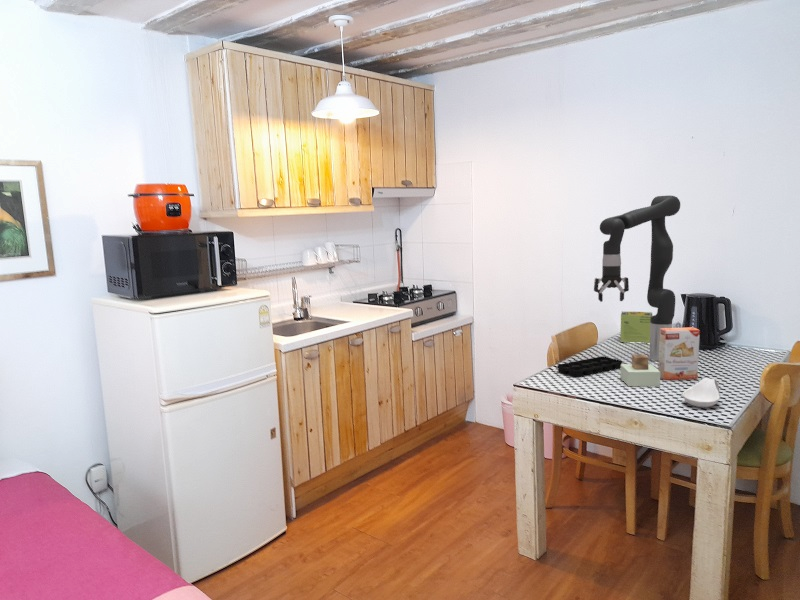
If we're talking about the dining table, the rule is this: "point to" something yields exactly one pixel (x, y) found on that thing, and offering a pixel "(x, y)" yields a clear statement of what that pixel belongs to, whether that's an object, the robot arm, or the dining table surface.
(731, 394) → the dining table surface
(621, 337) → the protein box
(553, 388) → the dining table surface
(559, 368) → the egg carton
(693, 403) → the spoon rest
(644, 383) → the stacking base
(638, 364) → the walnut cube
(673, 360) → the cracker box
